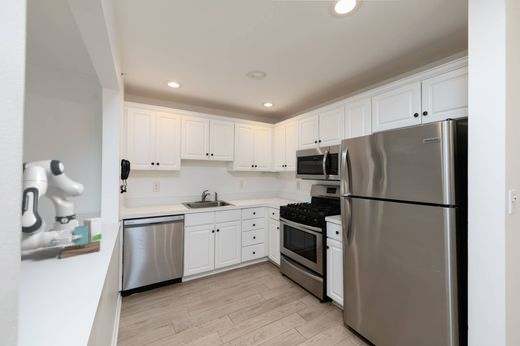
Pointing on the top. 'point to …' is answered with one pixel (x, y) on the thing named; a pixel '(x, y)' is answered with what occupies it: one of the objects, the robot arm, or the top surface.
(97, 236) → the skincare box
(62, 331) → the top surface
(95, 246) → the base
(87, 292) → the top surface
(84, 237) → the teal pencil cup
